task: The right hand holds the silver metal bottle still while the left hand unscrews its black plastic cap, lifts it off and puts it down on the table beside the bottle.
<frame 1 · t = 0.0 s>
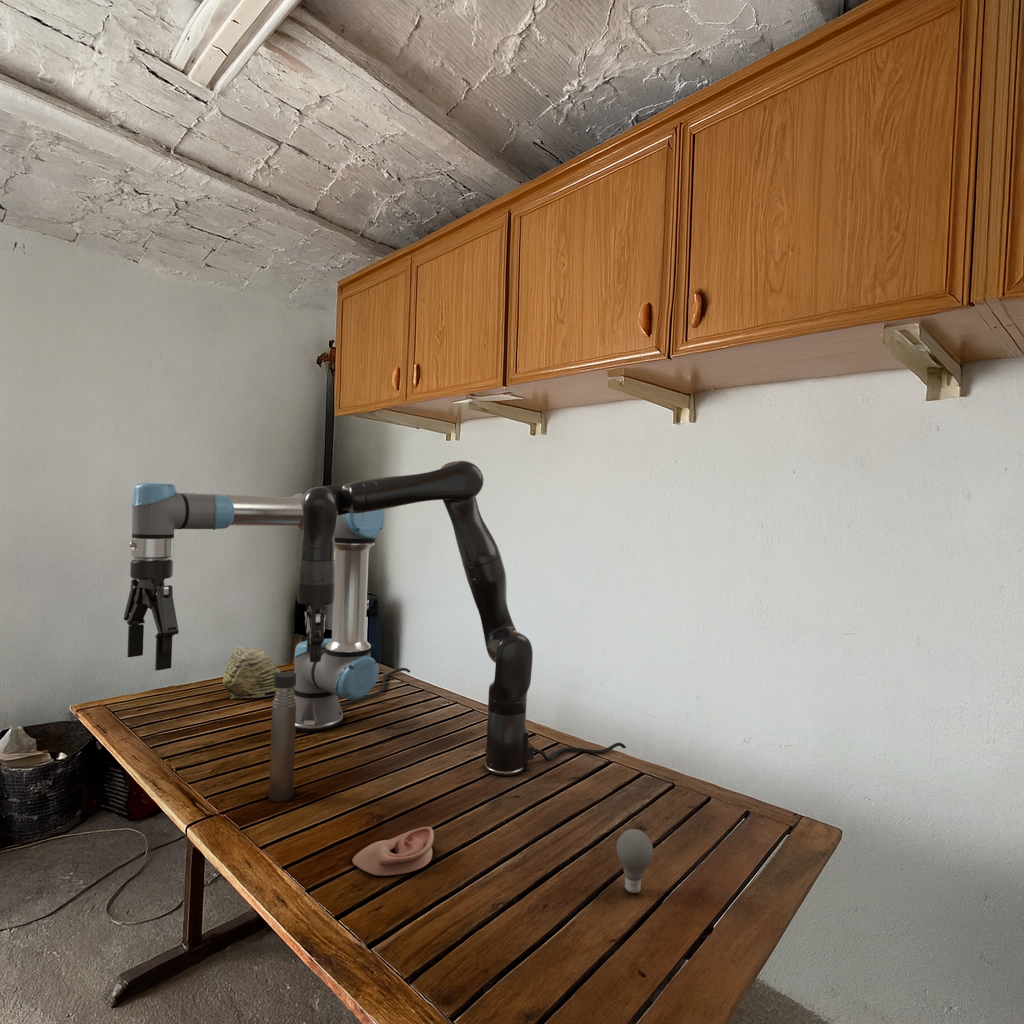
left hand: (148, 662, 129), 28 cm above the table, tool pointing down, fingers open, 13 cm apart
right hand: (313, 656, 135), 29 cm above the table, tool pointing down, fingers open, 8 cm apart
light bulb: (632, 891, 106), on the table
bottle: (280, 796, 133), on the table
cap: (285, 675, 133), point 25 cm above the table, screwed on, not yet turned
fossil: (254, 694, 198), on the table
anatomical model: (393, 859, 112), on the table
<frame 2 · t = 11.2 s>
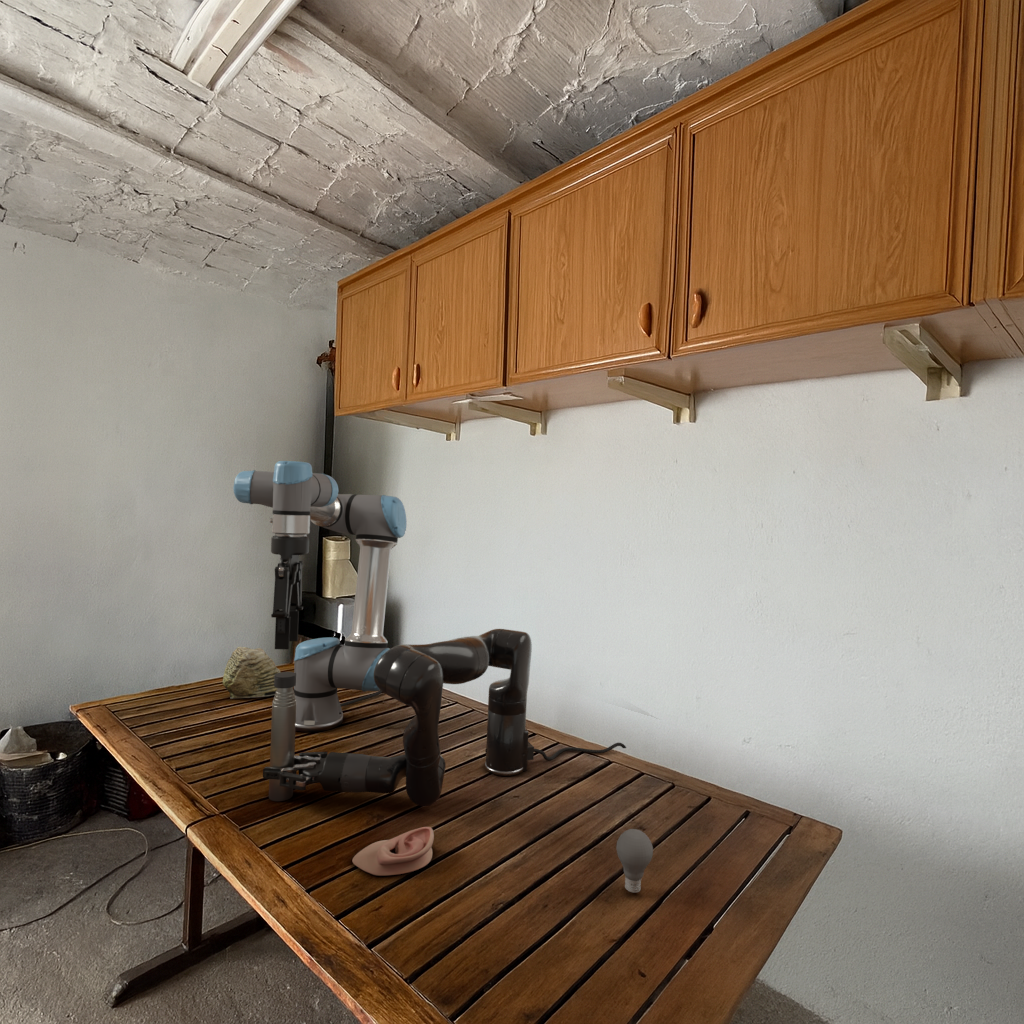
left hand: (286, 644, 133), 32 cm above the table, tool pointing down, fingers open, 7 cm apart
right hand: (269, 767, 133), 6 cm above the table, tool horizontal, fingers closed on bottle, 5 cm apart
bottle: (280, 796, 133), on the table, touching right hand
everything else where it was.
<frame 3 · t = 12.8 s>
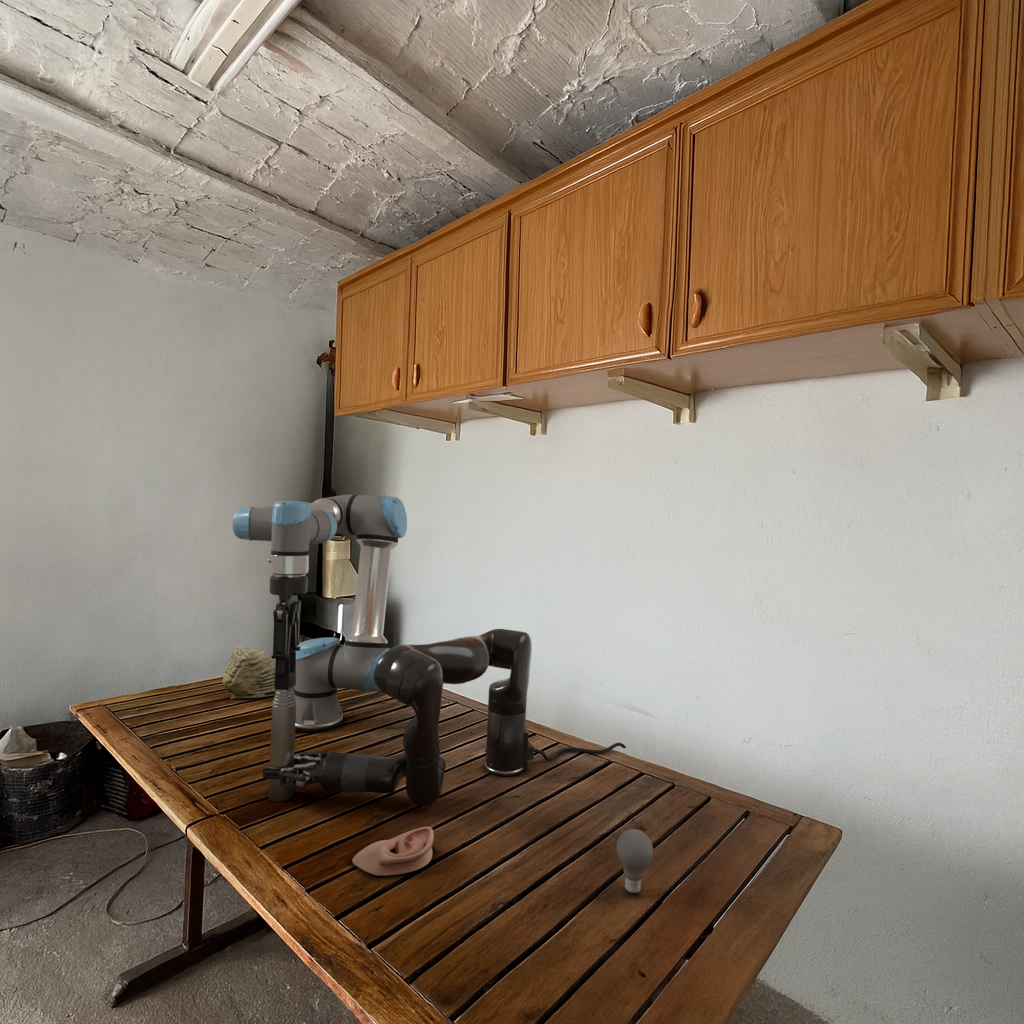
left hand: (285, 685, 133), 23 cm above the table, tool pointing down, fingers closed on cap, 4 cm apart
right hand: (269, 767, 133), 6 cm above the table, tool horizontal, fingers closed on bottle, 5 cm apart
bottle: (280, 796, 133), on the table, touching right hand
cap: (285, 675, 133), point 25 cm above the table, screwed on, not yet turned, touching left hand
everything else where it was.
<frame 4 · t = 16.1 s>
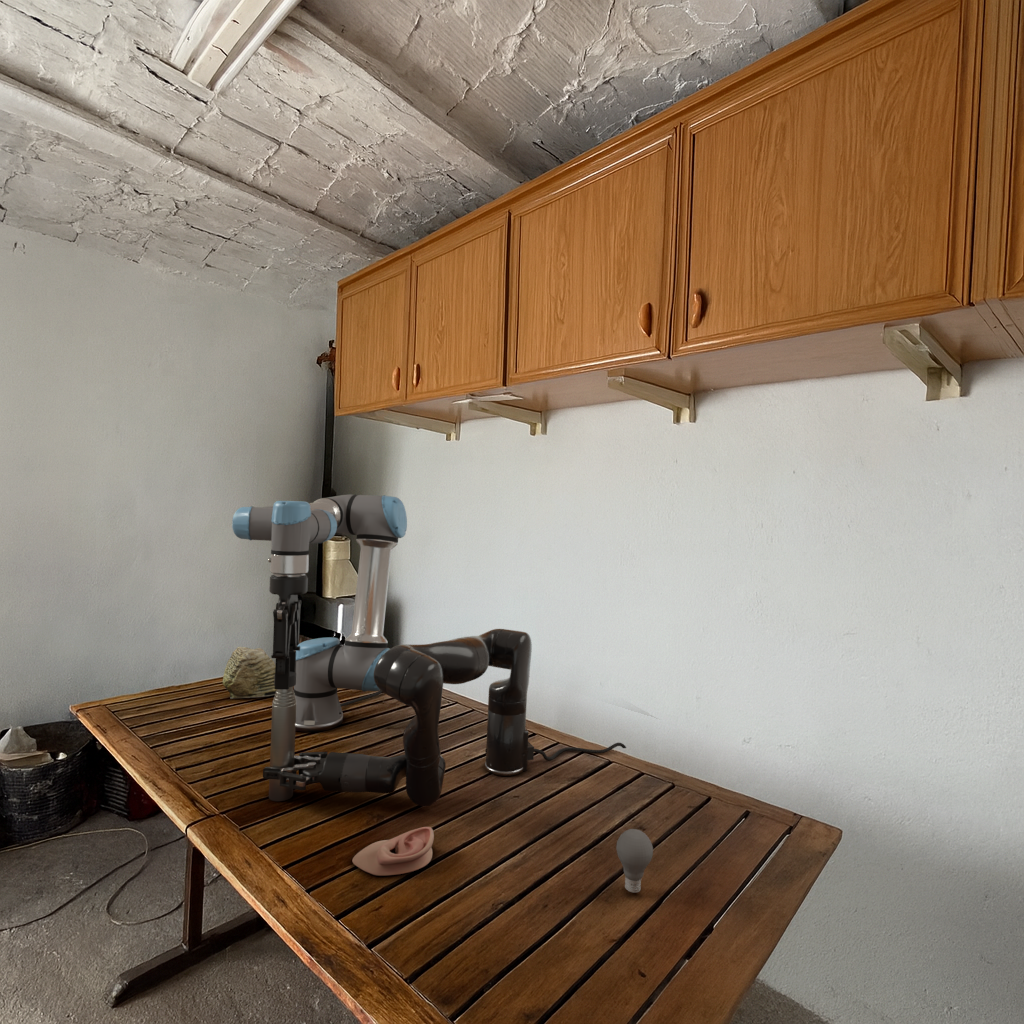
left hand: (285, 685, 133), 24 cm above the table, tool pointing down, fingers closed on cap, 4 cm apart
right hand: (269, 767, 133), 6 cm above the table, tool horizontal, fingers closed on bottle, 5 cm apart
bottle: (280, 796, 133), on the table, touching right hand
cap: (285, 675, 133), point 26 cm above the table, turned 94° so far, risen 0.1 cm, still on its thread, touching left hand
everything else where it was.
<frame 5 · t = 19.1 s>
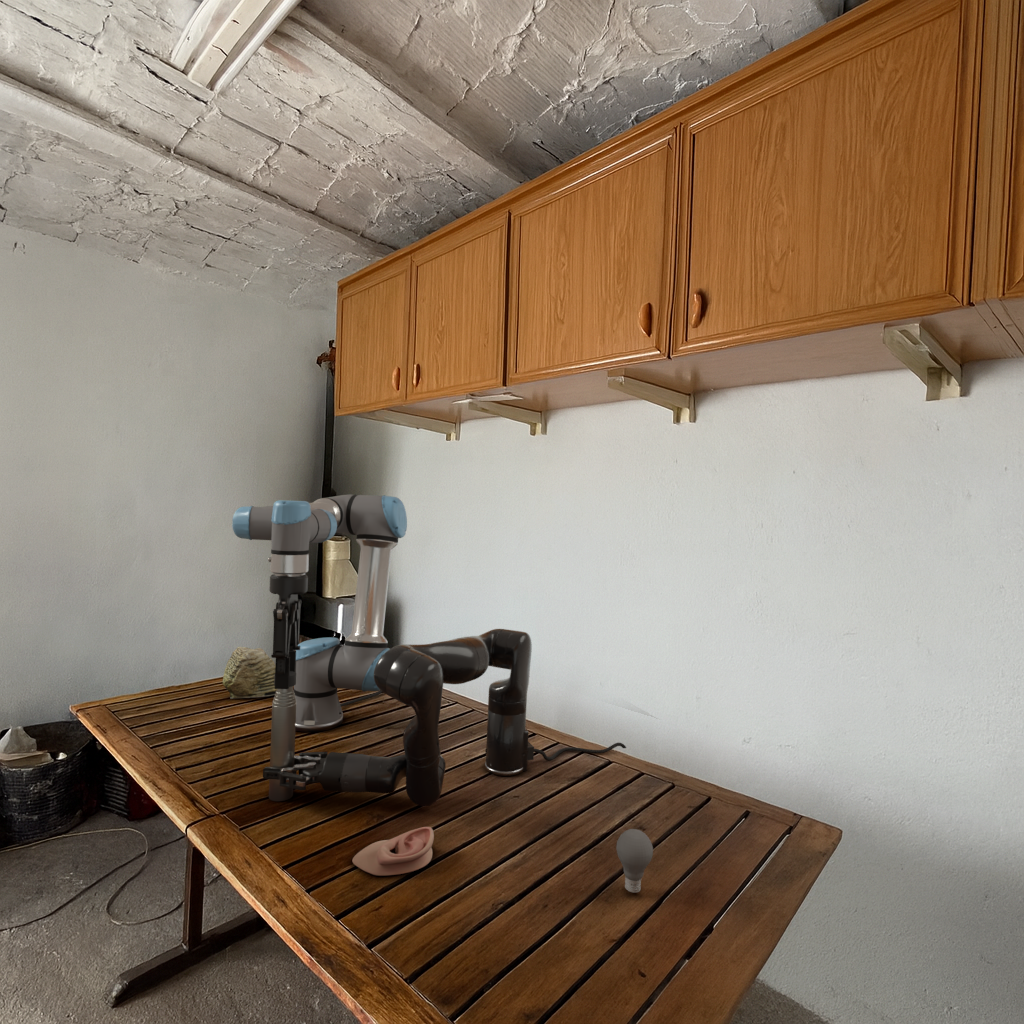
left hand: (285, 684, 133), 24 cm above the table, tool pointing down, fingers closed on cap, 4 cm apart
right hand: (269, 767, 133), 6 cm above the table, tool horizontal, fingers closed on bottle, 5 cm apart
bottle: (280, 796, 133), on the table, touching right hand
cap: (285, 675, 133), point 26 cm above the table, turned 189° so far, risen 0.2 cm, still on its thread, touching left hand
everything else where it was.
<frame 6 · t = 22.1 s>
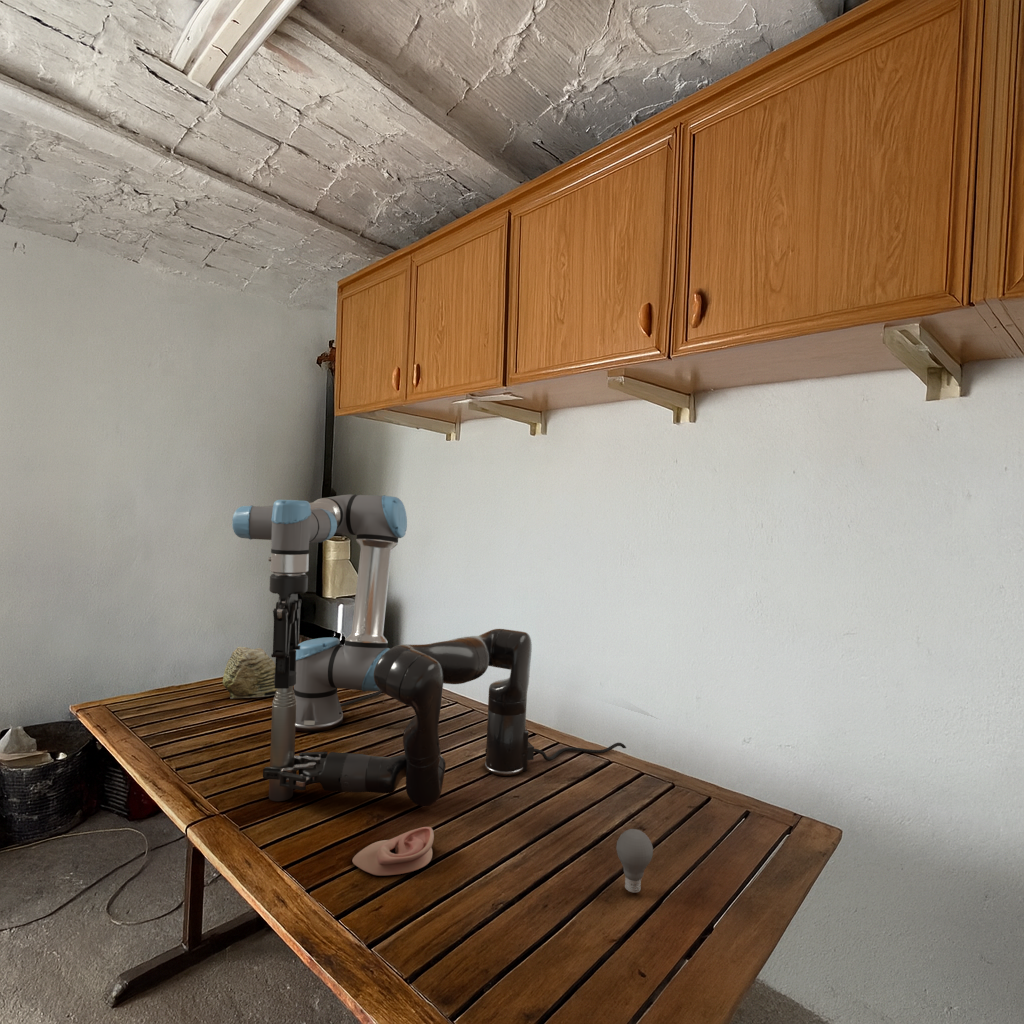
left hand: (285, 684, 133), 24 cm above the table, tool pointing down, fingers closed on cap, 4 cm apart
right hand: (269, 767, 133), 6 cm above the table, tool horizontal, fingers closed on bottle, 5 cm apart
bottle: (280, 796, 133), on the table, touching right hand
cap: (285, 674, 133), point 26 cm above the table, turned 283° so far, risen 0.3 cm, still on its thread, touching left hand
everything else where it was.
when the left hand's fingers open (1 cm above the table, at t = 28.8 s): cap drops 1 cm, point 2 cm above the table.
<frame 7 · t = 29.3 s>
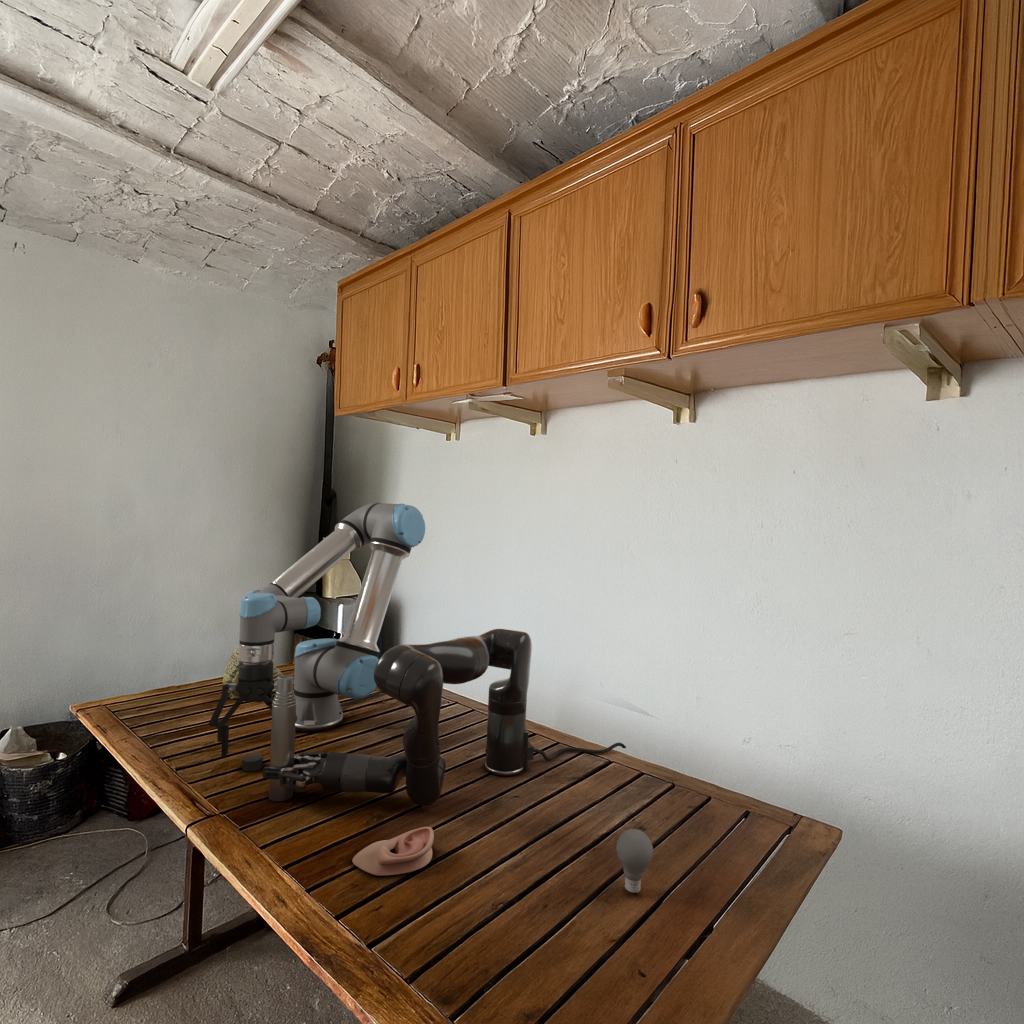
left hand: (252, 754, 146), 3 cm above the table, tool pointing down, fingers open, 11 cm apart
right hand: (269, 767, 133), 6 cm above the table, tool horizontal, fingers closed on bottle, 5 cm apart
bottle: (280, 796, 133), on the table, touching right hand
cap: (252, 758, 146), point 2 cm above the table, off its thread
everything else where it was.
when the right hand's fingers open (6 cm above the table, at t = 30.1 s): bottle stays where it is, on the table.
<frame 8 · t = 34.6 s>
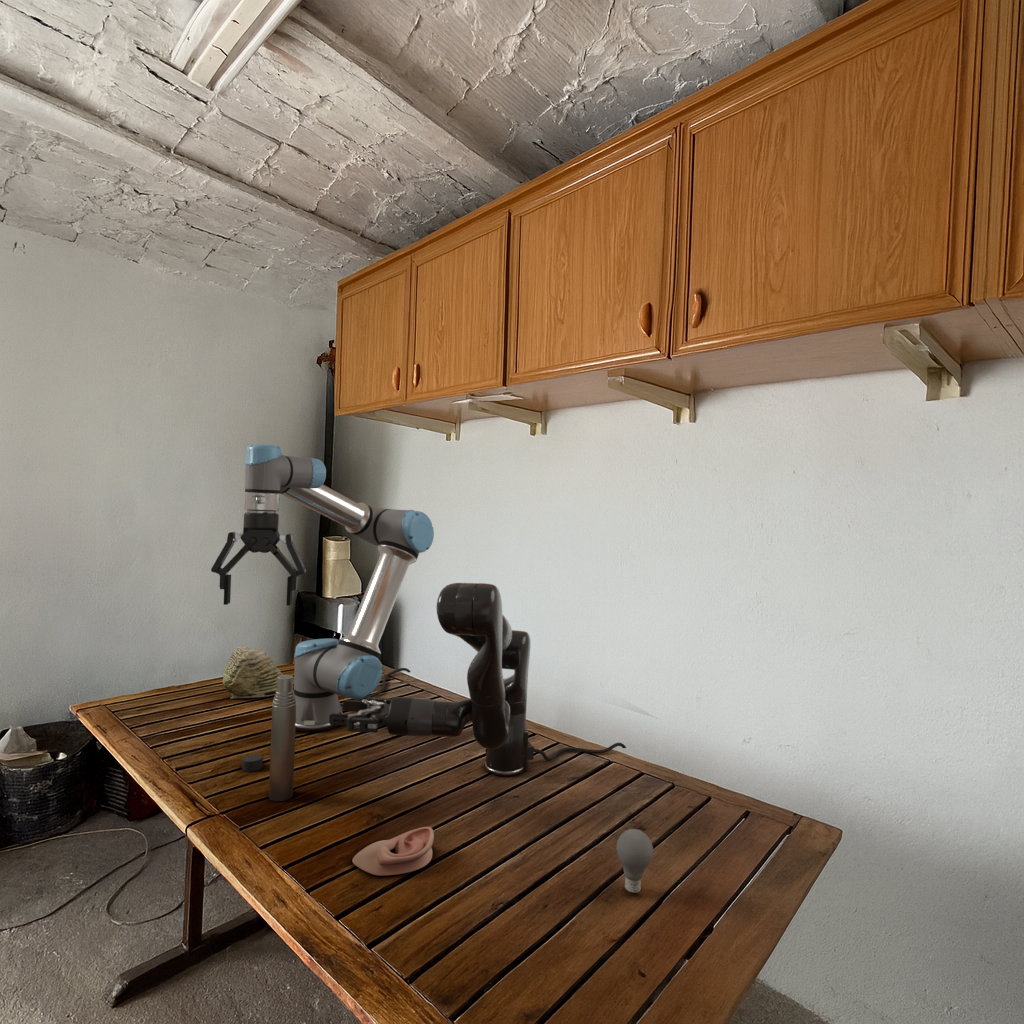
left hand: (258, 604, 146), 38 cm above the table, tool pointing down, fingers open, 13 cm apart
right hand: (336, 711, 132), 19 cm above the table, tool horizontal, fingers open, 8 cm apart
bottle: (280, 796, 133), on the table
everything else where it was.
at the end: cap came off its thread; cap point 2.0 cm above the table; the left hand is holding nothing; the right hand is holding nothing; bottle tilted 0°; bottle moved 0.0 cm from its start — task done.
